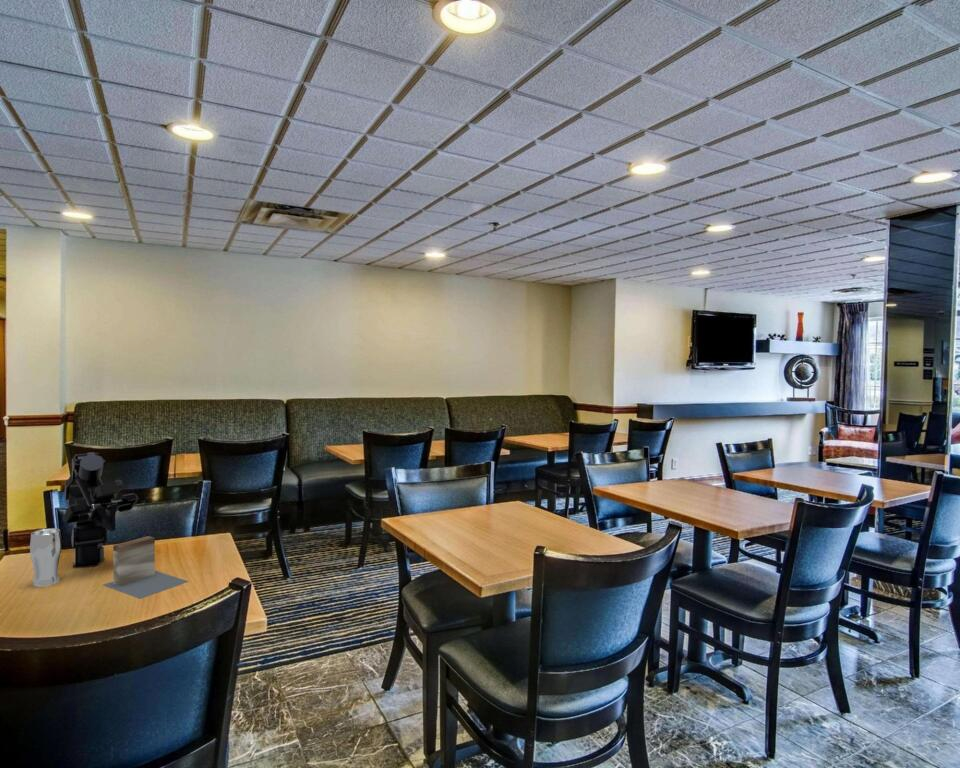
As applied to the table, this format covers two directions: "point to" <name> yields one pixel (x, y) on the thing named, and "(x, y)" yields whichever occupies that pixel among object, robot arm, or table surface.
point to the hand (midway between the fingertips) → (113, 530)
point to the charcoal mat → (148, 585)
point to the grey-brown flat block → (134, 560)
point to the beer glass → (45, 556)
